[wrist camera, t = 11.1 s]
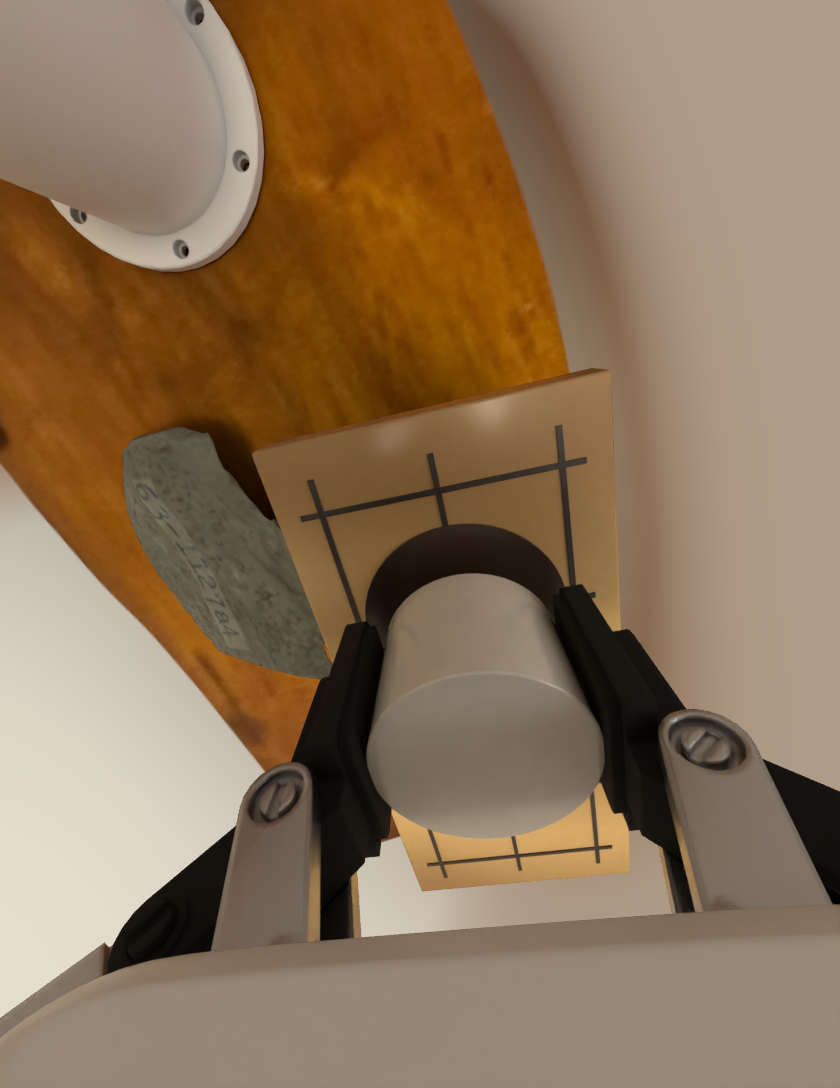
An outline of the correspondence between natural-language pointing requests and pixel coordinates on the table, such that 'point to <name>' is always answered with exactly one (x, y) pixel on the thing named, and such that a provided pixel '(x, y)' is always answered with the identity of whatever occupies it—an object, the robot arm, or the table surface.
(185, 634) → the table surface
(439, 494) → the game board
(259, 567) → the stone
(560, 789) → the off-white cylinder
